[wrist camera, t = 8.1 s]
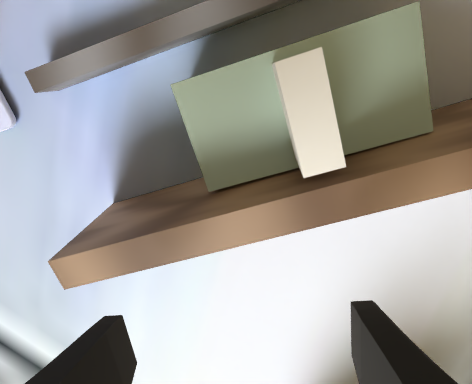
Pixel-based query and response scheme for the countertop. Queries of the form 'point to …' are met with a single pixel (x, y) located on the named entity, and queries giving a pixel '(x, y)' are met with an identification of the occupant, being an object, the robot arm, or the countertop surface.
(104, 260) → the wall board
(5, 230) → the countertop surface
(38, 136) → the countertop surface
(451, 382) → the robot arm
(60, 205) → the countertop surface
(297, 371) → the countertop surface
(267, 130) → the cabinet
